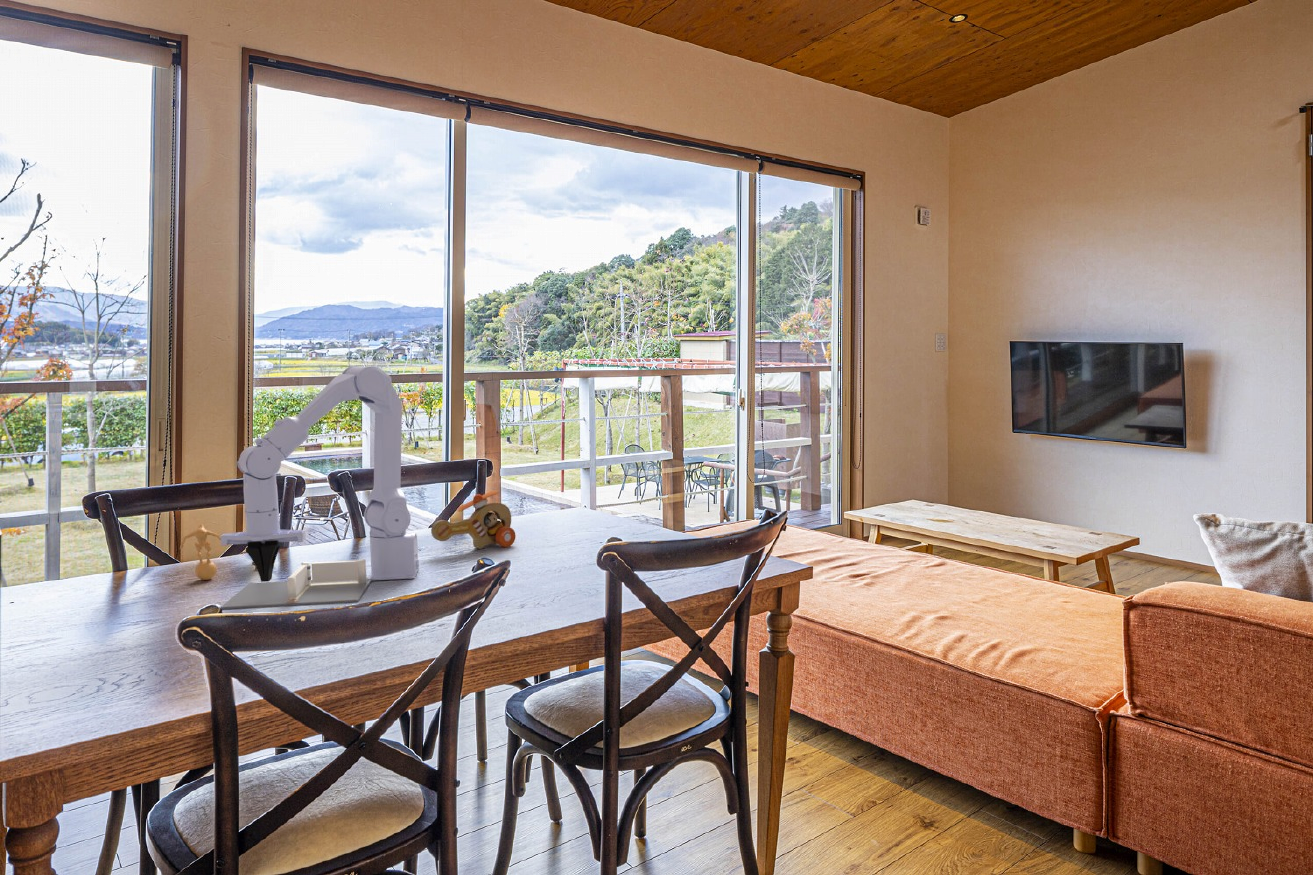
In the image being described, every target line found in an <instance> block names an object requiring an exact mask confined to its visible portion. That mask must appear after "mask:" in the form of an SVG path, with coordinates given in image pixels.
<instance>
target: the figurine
mask: <svg viewBox="0 0 1313 875" xmlns="http://www.w3.org/2000/svg"><path fill="white" fill-rule="evenodd" d="M208 536H212V537H216V538H217V539H218V540H219V541H220V542H221V535H220V534H217V533H216V532H215V533H214V532H212V531H210V530H208V529H206V528H205V526H204V524H199V525H198V528H197V529H196V530H194V531H193V532H191V533H189V534H187V535H185V536H184V537H183V538H182V541H181V544H180V547H179V550H182V548H183V547H184V544H185V543H186V542H185V541H186V540H187V539H189V538H193V537H195V539H196V541H197V542H195V544H194V546H195V549H196V552H197V557H198V559H199V560H198V561H199V563H198V564H197V565H196V566H195V568H194V573H195V574H194V575H196V577H197V578H198V579H199V580H202V581H208V580H211V579H213V578H214V577H215V576H216V574H217V571H218V568H217V565H216V564H215V563H214V562H213V561H212V560H211V559H210V555H211V550H212V548H211V542H210V541H207V539H208ZM203 548H204V549H205V550H207V552H206V553H205V554H206V555H205V556H206V560H203V558H202V556H203V555H202V553H201V552H202V551H201V550H202V549H203Z"/></svg>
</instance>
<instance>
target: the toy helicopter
mask: <svg viewBox="0 0 1313 875" xmlns="http://www.w3.org/2000/svg"><path fill="white" fill-rule="evenodd" d="M500 492H501V490H500V489H494V490H491V491H489V492H487V493H484V494H483V495H482V494H480V493H478V494H475V495H474V496H473V499H472V500H471V501H468V502H467V503H465V504H463V505H460V506H459V507H458V508H457V509H456V512H463V511H464V510H465V511H466V510H467V509H469V508H471V507H473V508H474V509H475V510H474V511H473V513H471V515H470V516H469V517H468V518H465V519H460V520H456V521H452V522H450V521H448V520H444V519H440V520H436V521H435V522H434V523H433V524H432V526H431V529H430V530H431V532H430V533H431V536H432V538H434V540H436V541H439V542H446V541H448V540H450V539H451V538H452V537H454V536H460V535H465V534H468V535H469V536H470V537H471V538H472V546H473V547H474V548H475V549H478V550H481V549H483V548H485V546H487V545H495V544H497V545H498V546H500V547H503V548H508V547H511V546H512V545H514V543H515V540H516V538H517V537H516V532H515V530H514V529H513V528H512V527H511V525H512V513H511V510H510V508H509V507H508V506H507V505H506V504H504V503H502V502H489V500H488V498H490V497H493V496H494V495H497V494H499V493H500Z"/></svg>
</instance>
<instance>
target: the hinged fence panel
mask: <svg viewBox="0 0 1313 875" xmlns="http://www.w3.org/2000/svg"><path fill="white" fill-rule="evenodd" d="M286 581H287V582H288V598H289V599H293V598H296V597H297V595H298V594H299V593H300V592H301V591H302V589H303V588H304V587H305V586H306V585H307V584H308V577H307V565H300V566H299V567H298V568H297V569H296V570H295V571H293V573H292V574H290V576H289V577H287V579H286Z"/></svg>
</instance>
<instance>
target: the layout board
mask: <svg viewBox="0 0 1313 875" xmlns="http://www.w3.org/2000/svg"><path fill="white" fill-rule="evenodd" d="M367 577H368V576H366V583H364V584H360V583H358V580H350V581H330V582H312V579H311V585H309V586H305V587H304V588H303V589H302V591H301V592H300V593H299V594H298V595H297V597H296V598H293V599H289V598H288V582H287V580H285V581H268V582H261V581H260V582H249V583H248V584H247V585H245V586H244V587H243V588H242V589H241V590H239V591H238V592H237V593H236V594H234V595H233V596H232V597H231V598H230V599H229V600H227V601H226V602H225V603H224V604H223V605H221V607H220V610H232V609H249V608H250V609H252V608H267V607H268V608H269V607H285V606H286V607H287V606H305V605H307V606H308V605H309V606H310V605H323V604H324V605H326V604H342V603H343V604H344V603H358V602H359V601H360V599H361V598H362V596H363V595H364V594H365V592H366V591H367V589H368V587H369V586H370V585H371V583H372V581H371V580H367Z"/></svg>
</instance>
